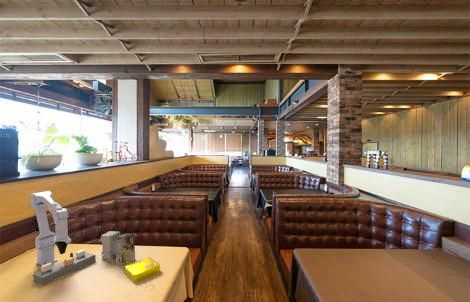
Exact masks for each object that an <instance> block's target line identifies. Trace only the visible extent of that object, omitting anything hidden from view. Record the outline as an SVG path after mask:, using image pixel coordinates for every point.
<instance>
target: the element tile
mask: <svg viewBox="0 0 470 302" xmlns="http://www.w3.org/2000/svg"><path fill="white" fill-rule="evenodd" d="M159 273H161V264H160V263H159V262H157V261H156V260H154V259H153V257H150V256H149V257H145V258H143V259H140V260H138V261H134V262H132V263H131V262H130V263H128V264H125V266H124V274H125V275H126V276H127V277H128V278H129V279H130V280H131V282H133V283H138V282H141V281H143V280H146V279H147V278H148V279H149V278H151V277H152V276H154V275H155V276H156V275H157V274H159Z"/></svg>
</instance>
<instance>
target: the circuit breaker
mask: <svg viewBox="0 0 470 302" xmlns="http://www.w3.org/2000/svg"><path fill="white" fill-rule="evenodd" d="M100 236H101V237H100V242H101V245H102V249H101V255H100V256H101V259H102V258H103V259H104V260H114V259H116V251H115V237H118V236H121V231H114V230H113V231H112V230H111V231H109V230H108V231H107V232H105V233H103V234H101V235H100ZM103 259H102V260H103Z"/></svg>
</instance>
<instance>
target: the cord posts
mask: <svg viewBox="0 0 470 302" xmlns="http://www.w3.org/2000/svg"><path fill="white" fill-rule="evenodd" d="M71 257H73V258H74V253H73V252H70V253H69V258H71ZM45 264H47V263H44V264H43V265H45Z"/></svg>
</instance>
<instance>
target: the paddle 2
mask: <svg viewBox="0 0 470 302" xmlns="http://www.w3.org/2000/svg"><path fill="white" fill-rule="evenodd" d="M85 253H86V250H85V249H80V250H78V251H76V252H75V257H78V258H79V257H82V256H84V255H85Z"/></svg>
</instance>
